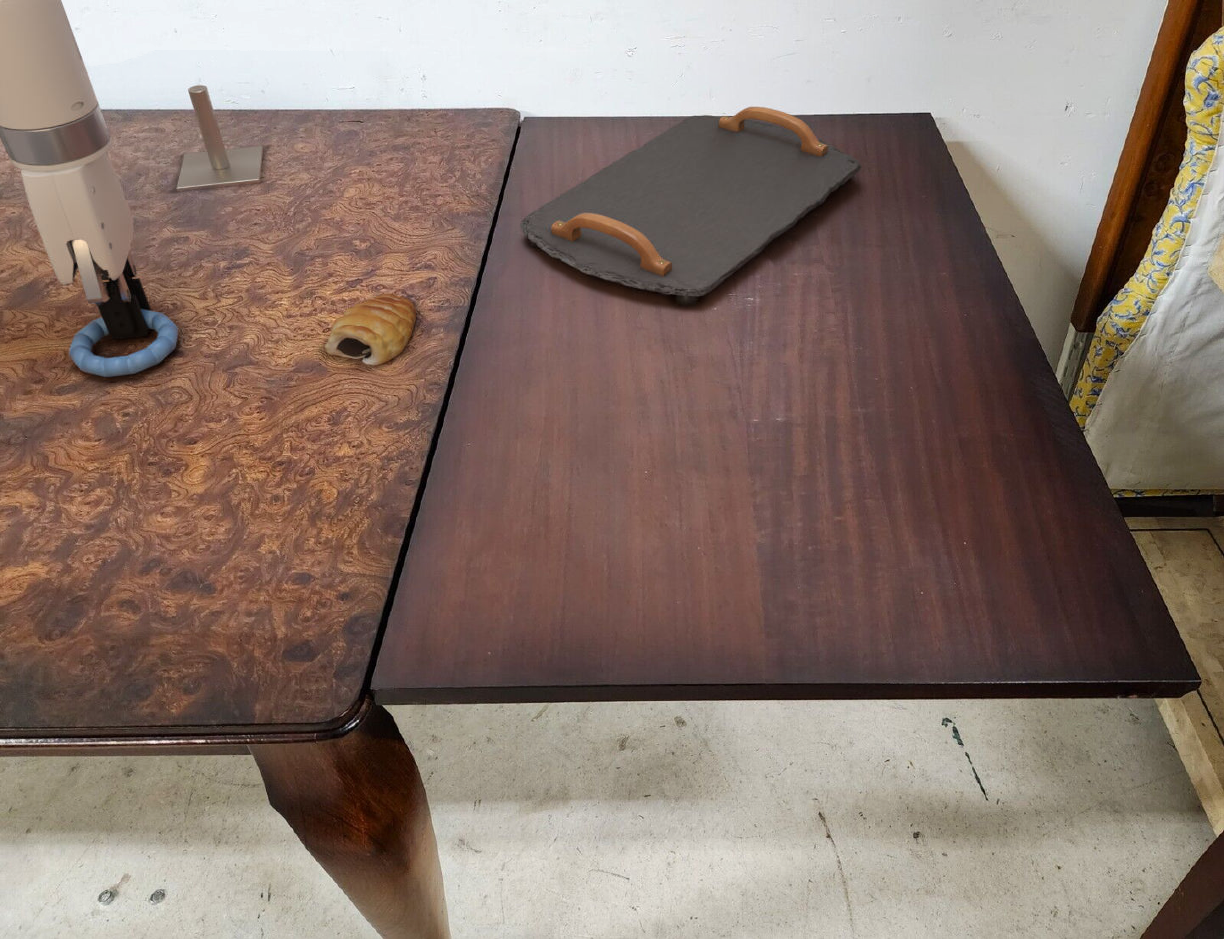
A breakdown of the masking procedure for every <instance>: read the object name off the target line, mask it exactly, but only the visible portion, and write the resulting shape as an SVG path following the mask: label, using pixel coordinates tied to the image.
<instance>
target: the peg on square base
mask: <svg viewBox="0 0 1224 939" xmlns="http://www.w3.org/2000/svg"><path fill="white" fill-rule="evenodd" d="M187 91H188V96H189V99H190V102H191V104H192V108H193V111H194V115H195V117H196V121H197V124H198V128H199V130H200V134H201V137H202V140H203V143H204V147H205V150H206V151H197V152H196V151H195V152H189V153H184V155H183V158H182V163H181V168H180V171H179V176H178V180H177V183H176V192H177V193H179V192H187V191H196V190H206V189H215V188H217V189H218V188H225V187H233V186H234V187H235V186H244V185H245V186H246V185H254V184H260V183H261V177H262V166H263V157H264V147H263V145H257V146H247V147H236V148H229V149H228V148H227V149H226V147H225V144H224V140H223V136H222V133H221V129H220V126H219V123H218V120H217V117H216V112H215V110H214V106H213V103H212V99H211V96H210V94H209V89H208V87H207V86H206V85H203V84H202V85H201V84H199V85H193V86H191V87H189V88H188V89H187Z"/></svg>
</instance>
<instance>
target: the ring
mask: <svg viewBox="0 0 1224 939" xmlns="http://www.w3.org/2000/svg"><path fill="white" fill-rule="evenodd" d="M141 311H142V314H143V316H144V319H145V321H146V324H147V326H148V329H149V330H150V329H151V330H154V331H155V332H156V333H157V337H156V338H155V339H154V340H153V341H152V342H151V343H150V344H148V346H147V347H145V348H143V349H140V350H138V351H135V352H133V353H130V354H128V355H121V356H113V357H104V356H100V355H96V354H94V353H93V352H92V349H93V346H94V345H96V344H97V343H98V342H99V341H100V340H101V339H103V338H104V337H106V336H108V335H109V332H108V330H107V328H106V325H105V323H104V320H103V318H102V316H101V317H98V318H95V319H93V320H91V321H90V322H88V323H87V324H86V325H85V326H83V327H82V328H81V329H80V330H78V331H77V332H76V333H75V334H74V336H73V337H72V341H71V345H70V346H69V350H68V355H69V357H70V359H71V360H72V361H73V363H74V364H75V365H76V366H77V367H78V369H79V370H80V371H81V372H84V373H87V374H92V375H95V376H100V377H104V378H110V377H119V376H127V375H135V374H137V373H140V372H142V371H144V370H146V369H149V368H151V367H154V366H156V365H158V364H160V363H162V361H163V360H165V358H167V357H168V356H169V355H170V354H171V353H173V351H174V350H175V349H176V347H177V343H178V338H179V328H178V326H177V324H175V322H173V320H171V319H170V318H169V317H168V316H167V315H166V314H165V313H163V312H158V311H153V310H152V311H149V310H145V309H141Z"/></svg>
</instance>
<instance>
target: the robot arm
mask: <svg viewBox="0 0 1224 939" xmlns="http://www.w3.org/2000/svg"><path fill="white" fill-rule="evenodd" d="M0 141H1V143H2V145H3V148H4V149H5V151H6V154H7V156H8V159H9V162H10V163H11V164H12V165H13V167H15V168H17V169H20V175H21V180H22V184H23V188H24V192H25V196H26V198H27V201H28V204H29V207H30V211H31V214H32V217H33V220H34V223H35V225H36V228H37V230H38V233H39V236H40V238H41V241H42V244H43V246H44V249H45V252H46V254H47V257H48V259H49V262H50V265H51V267H52V269H53V272H54V275H55V277H56V279H57V281H58V282H59V284H61V285H63V286H70V285H71V284H73V283H74V280H75V278H76V275H77V271H78V272H79V276H80V279H81V283H82V287H83V291H84V294H85V298H86V301H87V303H88V304H89V305H91V304H93V305H94V304H95V305H96V306H97V308H98V311H99V314H100V316H101V317H102V318H103V320H104V323H105V325H106V328H107V330H108V332H109V334H108V335H109V337H110V338H111V339H113V340H122V339H123V340H124V339H130V338H139V337H146V336H148V334H149V330H150V329H149V328H148V326H147V324H146V321H145V319H144V316H143V314H142V311H141V309H145V310H149V311H153V310H152V307H151V305H150V302H149V299H148V297H147V294H146V292H145V288H144V287H143V284H142V281H141V279H140V277H138V270H137V267H136V264H135V261H134V259H133V256H132V253H131V251H130V248H131V245H132V241H133V237H134V228H135V226H134V220H133V216H132V212H131V210H130V206H129V203H128V200H127V198H126V195H125V191H124V189H123V187H122V185H121V181H120V178H119V177H118V174H117V171H116V169H115V167H114V165H113V162H112V161H111V158H110V156H109V154H108V153H109V151H110V150H111V148H112V146H113V139H112V137H111V134H110V131H109V128H108V126H107V123H106V121H105V118H104V115H103V111H102V109H101V106H100V104H99V101H98V98H97V95H96V93H95V90H94V87H93V84H92V82H91V79H90V75H89V73H88V70H87V66H86V64H85V62H84V59H83V56H82V53H81V51H80V48H79V45H78V43H77V40H76V37H75V34H74V31H73V28H72V26H71V23H70V20H69V18H68V15H67V13H66V10H65V6H64V4H63V1H62V0H0Z"/></svg>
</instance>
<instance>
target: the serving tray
mask: <svg viewBox="0 0 1224 939" xmlns="http://www.w3.org/2000/svg"><path fill="white" fill-rule="evenodd" d="M761 121H763V122H761ZM860 163H861V162H859V161H858V160H857V159H856V158H855V157H853V155H850V154H846V153H845V152H843V151H842V150H840V149H839V148H838V147H835V146H834V145H831V144H829V143H826V142H825V141H823V140H822V139H818V138H817V137H816V135H815V134H814V132H813V130H812V129H811V128H810V126H809V125H808V124H807V123H805V121H803V120H802V119H800V118H798V117H796V116H794V115H792V114H790V113H787V112H784V111H781V110H778V109H774V108H770V107H764V106H748V107H745V108H743V109H742V110H740V111H738V112H737V113H736V114H734V115H733V116H726V115H722V116H721V117H720V116H714V115H710V114H704V115H691V116H689V117H687V118H685V119H684V120H682V121H680V122H679V123H677V124H675V125H673V126H671V127H670V128H668V129H667V130H666V131H663V132H661V133H660V134H658V135H657V136H654V138H652V139H650V140H649V141H647V142H646V143H644V144H643V145H642V146H640V147H638V148H636V149H634V150H632V151H630V152H628V153H627V154H625V155H624V156H622V157H621V158H619V159H618V160H615V161H613V162H612V163H611V164H610V165H608V166H606V167H603V168H602V169H601V170H599V171H598V172H596V173H594V174H592V175H591V176H589V177H588V178H587V179H585V180H584V181H581V182H580V183H578V184H576V185H575V186H574V187H572V188H570V189H568V190H566V191H564V192H563V193H562V194H560V195H558V196H557V197H556V198H554V199H551V200H550V201H549V202H546V203H545V204H543V205H542V206H541V207H539V208H538V209H535V210H534V211H532V212H530V213H528V214H527V215H526V216H525V217H524V218H522V220H521V222H520V224H519V228H520V230H521V231H522V233H523V234H524V235H525V237H527V239H528V240H529V241H530V246H531V247H533V248H536V249H540V250H542V251H543V252H544V253H545V254H547V255H548V256H550V257H552V258H554V259H557V260H559V261H560V262H563V263H564V264H566V265H567V266H570V267H571V268H573V269H575V270H577V271H579V272H581V273H583V274H585V275H588V276H591V277H594V278H597V279H601V280H604V281H606V282H611V283H615V284H619V285H622V286H626V287H628V288H629V287H630V288H632V289H636V290H642V291H646V292H647V291H648V292H656V293H659V294H662V295H674V299H675V303H676V304H677V305H679V306H681V307H691V306H694V305H696V304H697V303H698V300H699V297H703V296H706V295H707V294H709V293H710V292H712V291H713V290H714V289H715V288H717V287H718V286H720V285H721V284H722V283H723V282H724V281H725V280H727V279H728V278H729V277H731V275H733V274H734V273H736V272H737V271H738V270H739V269H742V267H743V266H744V265H745V264H747V263H748V262H749V261H751V260H752V259H754V258H756V257H758V256H759V255H760V254H761V252H762V251H763V250H764V249H765V248H766V247H767V246H768V245H769V244H770V243H771V242H772V241H773V240H774V239H777V238H778V237H780V236H781V235H783V234H785V233H786V232H788V231H789V230H790V229H791V228H794V227H795V225H796V224H797V223H798V221H800V220H801V219H803V218H805V216H806V215H807V214H808V213H809V212H811V211H812V210H814V209H816V208H817V207H818V206H820V205H823V203H824V202H825V201H826V200H827V198H828V197H829V196H830V194H831V193H833V192H836V191H837V190H838V188H841V187H844V186H845V184H846V183H847V182H848V181H849V180H850V179H852V178H853V177H854V176H855V175H856V174H857V173H859V171H860V170H861V169H862V165H861V164H860Z"/></svg>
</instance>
